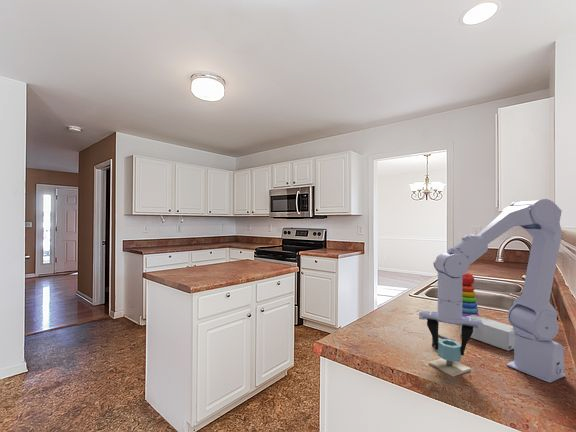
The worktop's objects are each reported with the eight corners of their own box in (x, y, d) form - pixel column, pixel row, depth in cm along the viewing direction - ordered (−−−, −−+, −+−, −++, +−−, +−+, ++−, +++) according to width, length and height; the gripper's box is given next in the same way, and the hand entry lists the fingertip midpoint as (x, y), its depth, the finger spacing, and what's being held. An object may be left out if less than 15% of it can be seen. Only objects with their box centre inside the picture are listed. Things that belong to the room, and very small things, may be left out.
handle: (465, 358, 83) (465, 344, 83) (452, 362, 81) (452, 347, 81) (433, 344, 92) (433, 331, 92) (421, 347, 90) (421, 334, 90)
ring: (461, 355, 79) (461, 342, 79) (460, 363, 74) (460, 349, 74) (439, 350, 81) (439, 337, 81) (437, 357, 77) (437, 344, 77)
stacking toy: (473, 318, 117) (473, 271, 117) (484, 326, 109) (484, 275, 109) (452, 317, 118) (452, 270, 118) (461, 325, 110) (462, 274, 110)
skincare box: (472, 314, 104) (522, 326, 91) (472, 331, 104) (522, 346, 91) (459, 317, 100) (510, 331, 87) (458, 335, 100) (510, 351, 87)
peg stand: (470, 370, 76) (470, 351, 76) (453, 376, 73) (453, 356, 73) (445, 358, 82) (445, 340, 82) (428, 364, 79) (428, 345, 79)
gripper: (482, 300, 77) (481, 352, 77) (421, 292, 85) (421, 339, 85) (483, 306, 71) (482, 363, 71) (418, 297, 79) (417, 348, 79)
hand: (449, 351), depth 78 cm, fingers closed on ring, 5 cm apart
